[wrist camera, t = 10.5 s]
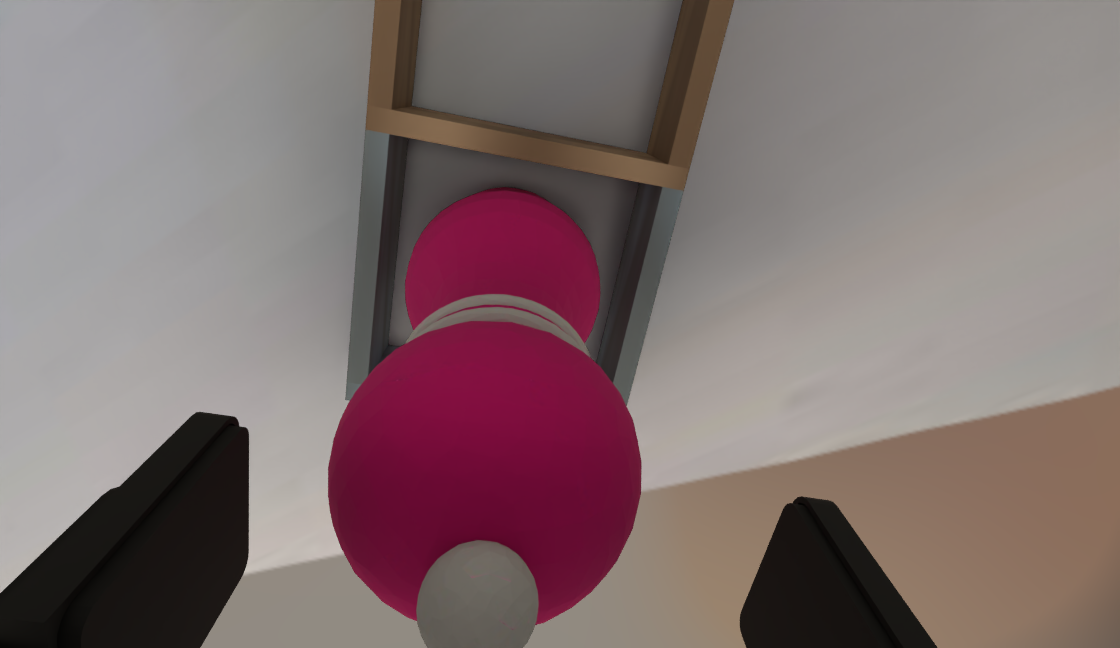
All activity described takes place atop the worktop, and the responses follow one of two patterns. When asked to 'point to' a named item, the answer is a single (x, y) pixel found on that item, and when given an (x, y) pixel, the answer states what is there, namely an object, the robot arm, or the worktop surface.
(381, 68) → the organizer
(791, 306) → the worktop surface
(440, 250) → the pepper mill
